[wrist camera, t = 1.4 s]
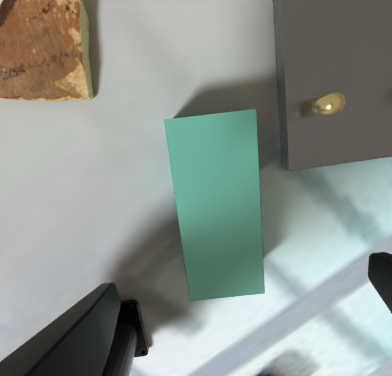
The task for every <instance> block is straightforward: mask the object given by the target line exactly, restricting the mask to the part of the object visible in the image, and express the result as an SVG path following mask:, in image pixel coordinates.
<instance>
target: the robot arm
mask: <svg viewBox="0 0 392 376" xmlns="http://www.w3.org/2000/svg"><path fill="white" fill-rule="evenodd" d="M368 277H369V280H370V282H371V283H372V285H373V286H374V288H375V289H376V291H377V292H378V294H379V295H380V296H381V298H382V299H383V301H384V302H385V304H386V305H387V307H388V308H389V310H390V311H391V313H392V254H389V253H386V252H378V253H372V254H370V256H369V265H368ZM131 305H134V306H131ZM148 350H149V347H148V343H147V339H146V335H145V331H144V327H143V323H142V318H141V314H140V310H139V306H138V303H137V301H136V300H125V301H120V298H119V295H118V292H117V289H116V286H115V284H114V283H113V282H110V283H103V284H101V285H100V286H98V287H97V288H96V289H94V290H93V291H92V292H91V293H89V294H88V295H87V296H85V297H84V298H83V299H81V300H80V301H79V302H78V303H76V304H75V305H74V306H72V307H71V308H70V309H68V310H67V311H66V312H65V313H63V314H62V315H61V316H59V317H58V318H57V319H55V320H54V321H53V322H52V323H50V324H49V325H48V326H46V327H45V328H44V329H42V330H41V331H40V332H38V333H37V334H36V335H35V336H33V337H32V338H31V339H29V340H28V341H27V342H25V343H24V344H23V345H22V346H20V347H19V348H18V349H16V350H15V351H14V352H12V353H11V354H10V355H9V356H7V357H6V358H5V359H3V360H2V361H1V362H0V376H129V374H130V370H131V366H132V362H133V358H134V357H140V356H146V355H147V354H148Z"/></svg>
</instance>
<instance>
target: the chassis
mask: <svg viewBox="0 0 392 376" xmlns="http://www.w3.org/2000/svg"><path fill="white" fill-rule="evenodd" d="M273 8H274V27H275V46H276V64H277V83H278V102H279V120H280V139H281V158H282V168H283V169H285V170H288V171H293V170H300V169H307V168H314V167H321V166H328V165H335V164H342V163H349V162H356V161H363V160H370V159H377V158H384V157H391V156H392V0H273Z"/></svg>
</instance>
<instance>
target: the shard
mask: <svg viewBox="0 0 392 376" xmlns="http://www.w3.org/2000/svg"><path fill="white" fill-rule="evenodd" d="M93 97H94V95H93V87H92V77H91V69H90V61H89V19H88V16H87V12H86V10H85V7H84V4H83V1H82V0H3V1H2V3H1V5H0V98H4V99H24V100H36V101H38V100H46V101H66V100H69V99H81V100H83V99H92V98H93Z"/></svg>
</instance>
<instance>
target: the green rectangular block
mask: <svg viewBox="0 0 392 376" xmlns="http://www.w3.org/2000/svg"><path fill="white" fill-rule="evenodd" d="M164 123H165V130H166V137H167V144H168V151H169V158H170V165H171V172H172V179H173V186H174V193H175V200H176V207H177V214H178V221H179V228H180V236H181V243H182V250H183V257H184V264H185V271H186V278H187V285H188V292H189V299H190V301H195V300H205V299H214V298H224V297H234V296H243V295H253V294H262V293H265V289H264V267H263V246H262V224H261V203H260V181H259V160H258V139H257V117H256V109H250V110H242V111H233V112H225V113H216V114H208V115H199V116H191V117H182V118H174V119H165V120H164Z"/></svg>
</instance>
